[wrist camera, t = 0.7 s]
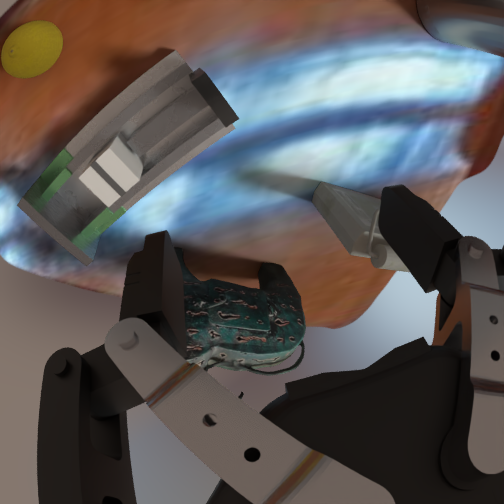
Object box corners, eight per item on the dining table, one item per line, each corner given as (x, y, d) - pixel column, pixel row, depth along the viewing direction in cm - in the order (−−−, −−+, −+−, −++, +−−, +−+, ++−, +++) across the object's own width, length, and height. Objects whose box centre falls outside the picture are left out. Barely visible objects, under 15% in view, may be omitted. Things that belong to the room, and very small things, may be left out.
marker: (119, 131, 26) (108, 147, 22) (145, 160, 28) (139, 181, 24) (91, 157, 26) (77, 178, 22) (117, 184, 29) (108, 208, 25)
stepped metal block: (199, 67, 23) (205, 72, 18) (226, 103, 26) (239, 118, 21) (121, 128, 25) (106, 151, 20) (149, 159, 28) (143, 189, 23)
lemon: (73, 16, 18) (40, 8, 12) (74, 65, 21) (42, 73, 15) (26, 31, 17) (-15, 33, 11) (28, 79, 20) (-11, 93, 14)
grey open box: (176, 50, 23) (174, 49, 18) (232, 124, 29) (245, 142, 24) (39, 176, 27) (17, 205, 22) (97, 231, 33) (86, 266, 28)
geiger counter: (356, 284, 27) (472, 292, 36) (390, 229, 24) (495, 259, 33) (306, 208, 38) (424, 237, 47) (326, 163, 35) (442, 207, 43)
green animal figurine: (139, 269, 38) (134, 414, 23) (146, 228, 35) (138, 382, 19) (274, 287, 46) (320, 408, 30) (292, 254, 42) (353, 378, 27)
